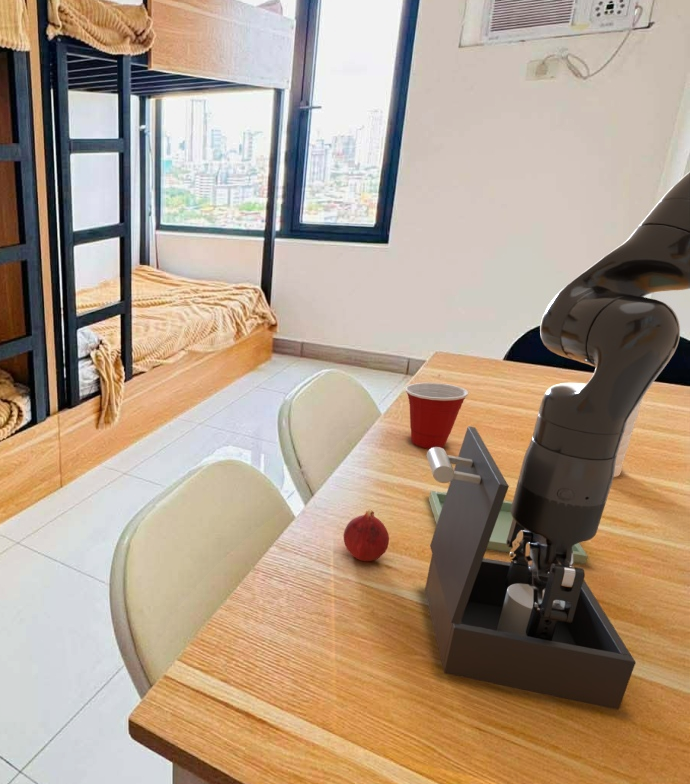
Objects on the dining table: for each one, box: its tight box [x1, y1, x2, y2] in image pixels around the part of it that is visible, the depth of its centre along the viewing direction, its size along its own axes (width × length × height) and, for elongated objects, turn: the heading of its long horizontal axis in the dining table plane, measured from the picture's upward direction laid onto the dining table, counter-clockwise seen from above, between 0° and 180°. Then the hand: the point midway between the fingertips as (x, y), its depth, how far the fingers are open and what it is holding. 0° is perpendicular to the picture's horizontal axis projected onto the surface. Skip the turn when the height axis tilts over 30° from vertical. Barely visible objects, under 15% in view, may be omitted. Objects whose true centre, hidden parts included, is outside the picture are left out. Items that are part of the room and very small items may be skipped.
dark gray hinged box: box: [424, 554, 636, 710], centre depth 71 cm, size 16×15×7 cm
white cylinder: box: [497, 584, 555, 636], centre depth 70 cm, size 5×5×6 cm
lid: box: [426, 425, 510, 625], centre depth 69 cm, size 17×15×5 cm
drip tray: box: [428, 490, 589, 565], centre depth 94 cm, size 18×14×2 cm
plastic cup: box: [404, 382, 469, 450], centre depth 122 cm, size 11×11×12 cm
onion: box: [342, 509, 390, 562], centre depth 87 cm, size 6×6×8 cm
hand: (525, 613), depth 70 cm, fingers open, 8 cm apart
